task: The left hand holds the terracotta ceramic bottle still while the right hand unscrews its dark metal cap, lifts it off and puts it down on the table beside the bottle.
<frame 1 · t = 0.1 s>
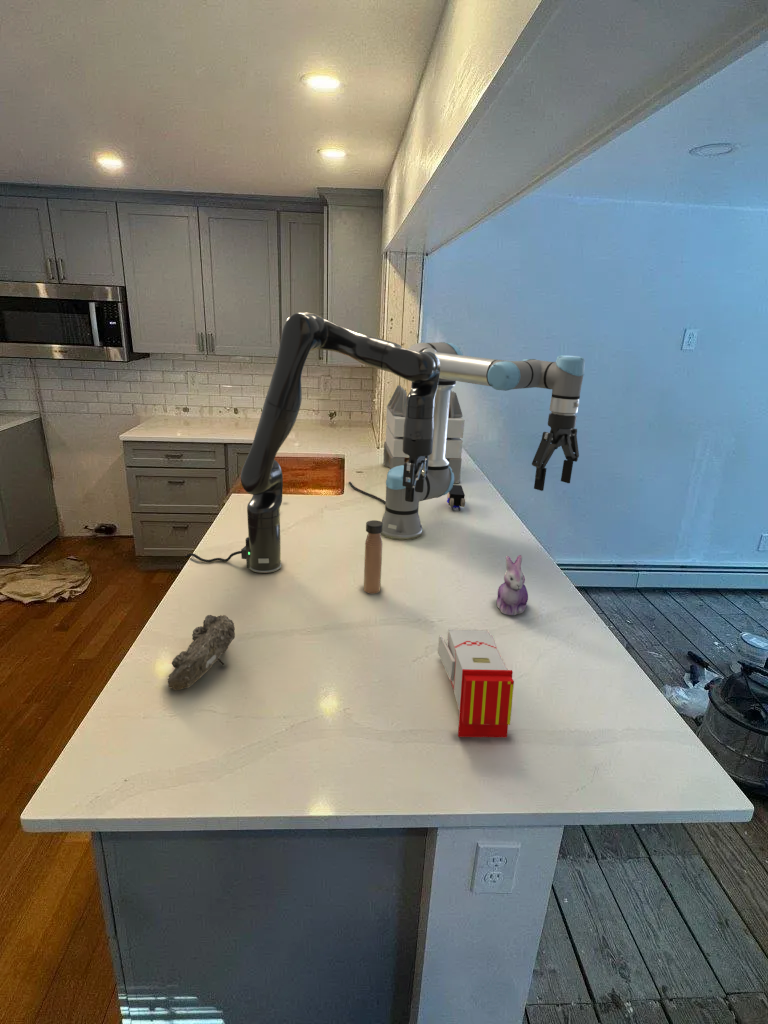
left hand: (414, 496, 147), 29 cm above the counter, tool pointing down, fingers open, 8 cm apart
right hand: (552, 485, 166), 28 cm above the counter, tool pointing down, fingers open, 13 cm apart
bottle: (371, 589, 160), on the counter
figurine character: (454, 506, 230), on the counter
fossil: (207, 663, 124), on the counter
grey slatted crate: (419, 473, 275), on the counter
cap: (374, 524, 153), point 20 cm above the counter, screwed on, not yet turned
figurine: (511, 608, 153), on the counter
toy: (469, 691, 119), on the counter
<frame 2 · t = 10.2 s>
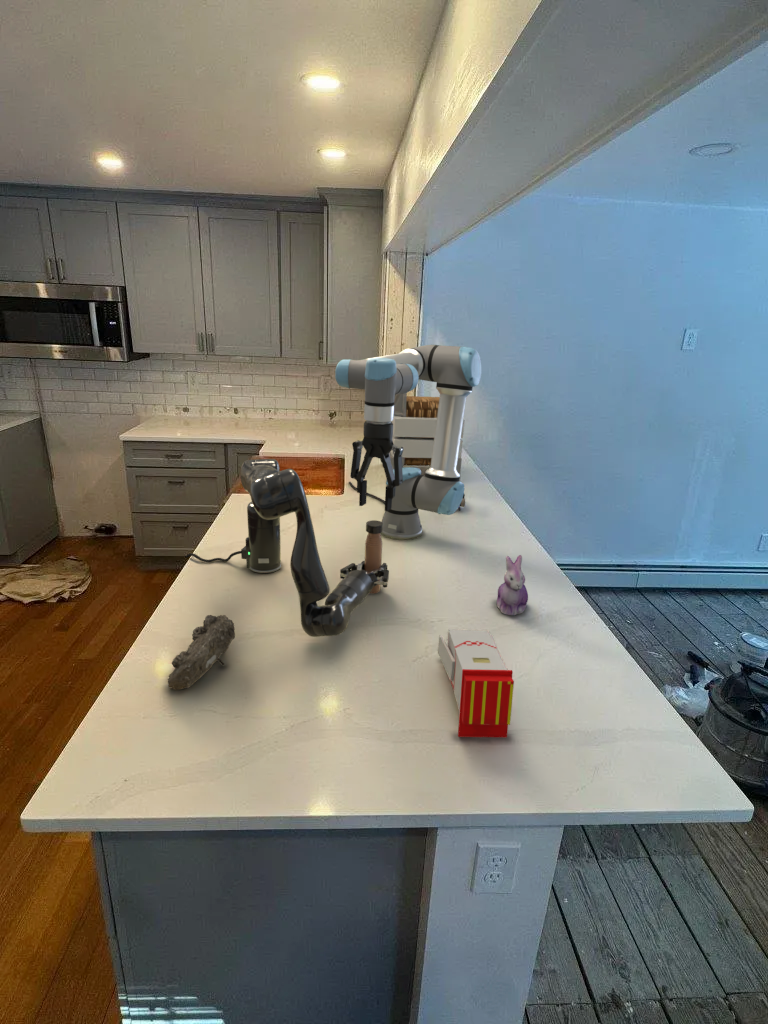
left hand: (376, 564, 160), 7 cm above the counter, tool horizontal, fingers closed on bottle, 4 cm apart
right hand: (375, 506, 151), 25 cm above the counter, tool pointing down, fingers open, 7 cm apart
bottle: (371, 589, 160), on the counter, touching left hand
everything else where it was.
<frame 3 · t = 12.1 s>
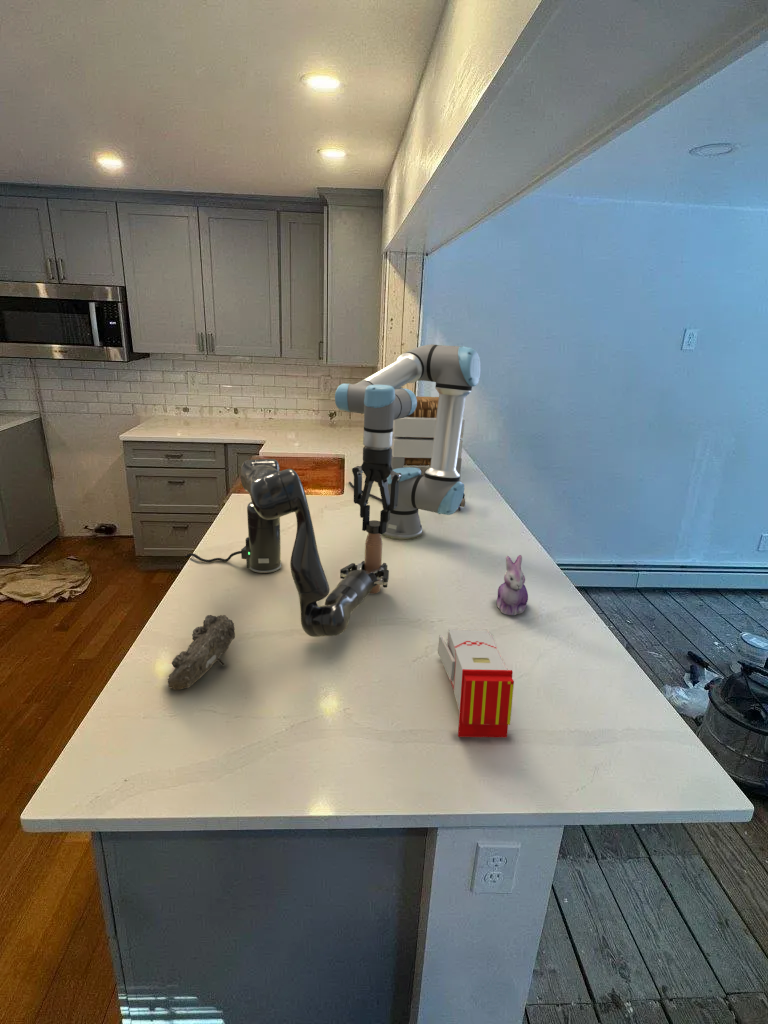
left hand: (376, 564, 160), 7 cm above the counter, tool horizontal, fingers closed on bottle, 4 cm apart
right hand: (374, 530, 154), 18 cm above the counter, tool pointing down, fingers closed on cap, 4 cm apart
bottle: (371, 589, 160), on the counter, touching left hand
cap: (374, 524, 153), point 20 cm above the counter, screwed on, not yet turned, touching right hand
everything else where it was.
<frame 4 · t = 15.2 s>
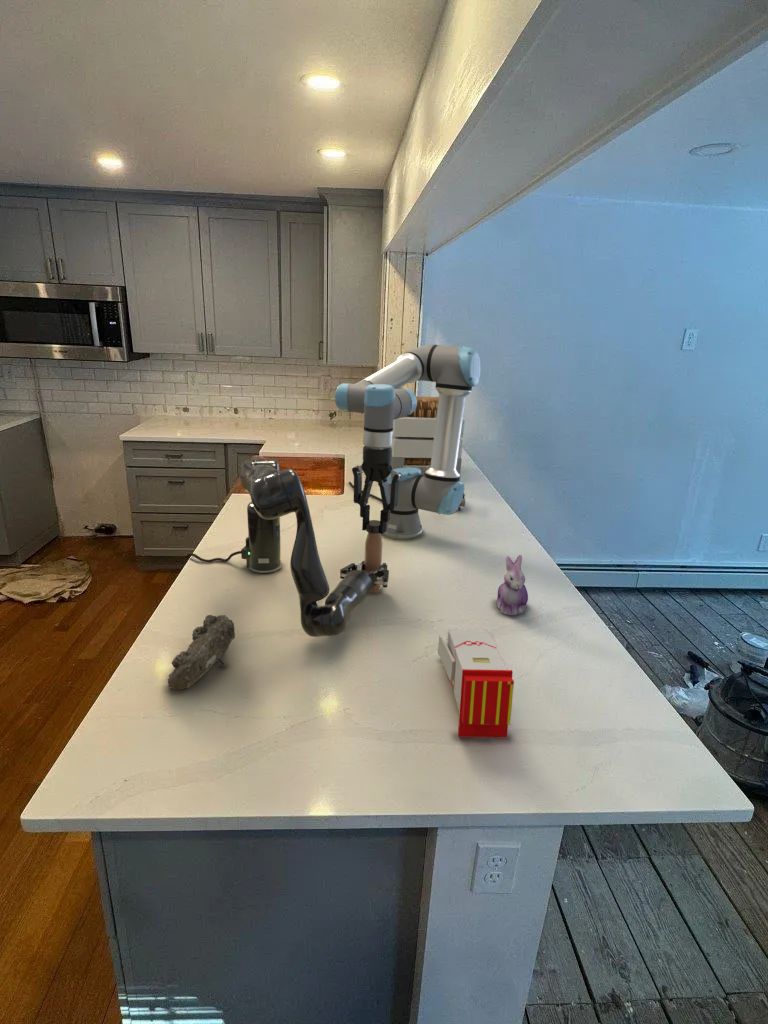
left hand: (376, 564, 160), 7 cm above the counter, tool horizontal, fingers closed on bottle, 4 cm apart
right hand: (374, 530, 154), 18 cm above the counter, tool pointing down, fingers closed on cap, 4 cm apart
bottle: (371, 589, 160), on the counter, touching left hand
cap: (374, 524, 153), point 20 cm above the counter, turned 109° so far, risen 0.1 cm, still on its thread, touching right hand
everything else where it was.
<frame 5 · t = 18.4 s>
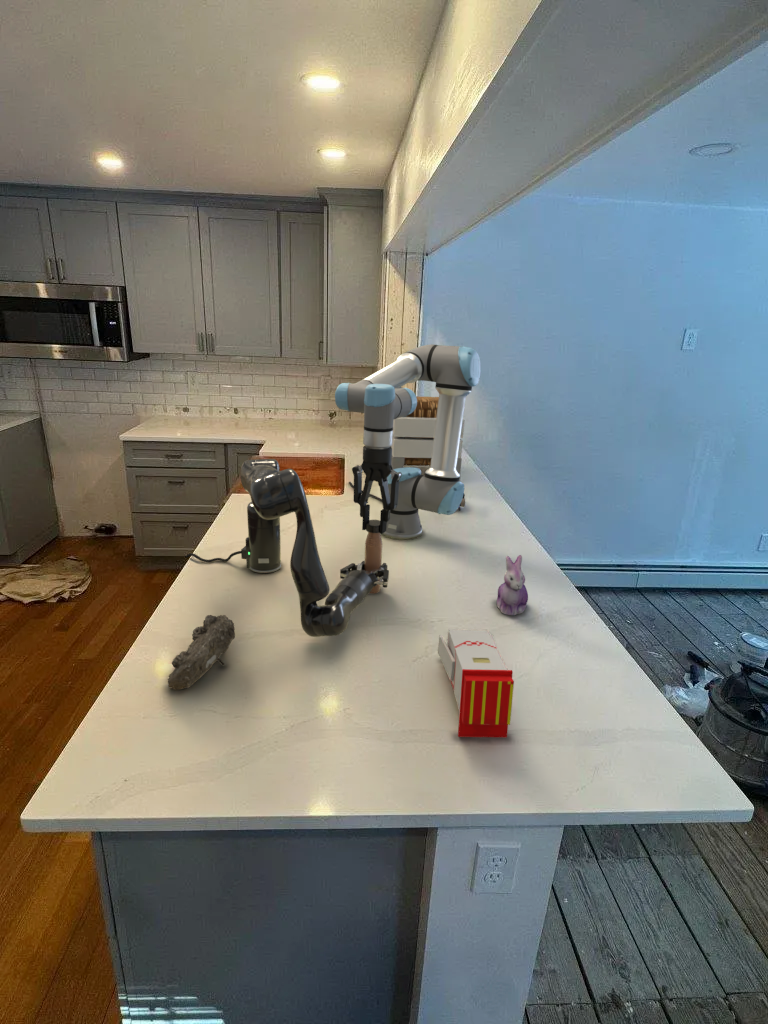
left hand: (376, 564, 160), 7 cm above the counter, tool horizontal, fingers closed on bottle, 4 cm apart
right hand: (374, 530, 154), 18 cm above the counter, tool pointing down, fingers closed on cap, 4 cm apart
bottle: (371, 589, 160), on the counter, touching left hand
cap: (374, 523, 153), point 20 cm above the counter, turned 218° so far, risen 0.2 cm, still on its thread, touching right hand
everything else where it was.
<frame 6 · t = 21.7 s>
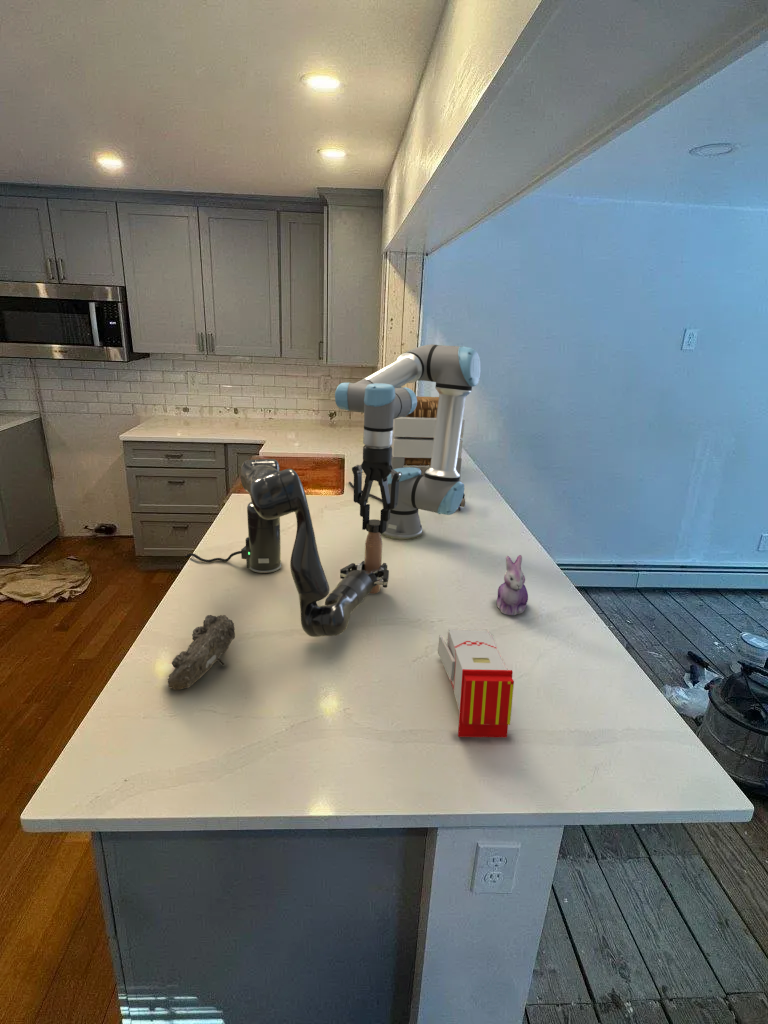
left hand: (376, 564, 160), 7 cm above the counter, tool horizontal, fingers closed on bottle, 4 cm apart
right hand: (374, 529, 154), 18 cm above the counter, tool pointing down, fingers closed on cap, 4 cm apart
bottle: (371, 589, 160), on the counter, touching left hand
cap: (374, 523, 153), point 20 cm above the counter, turned 327° so far, risen 0.3 cm, still on its thread, touching right hand
everything else where it was.
when the right hand's fingers open (1 cm above the counter, at t = 27.7 s): cap stays where it is, point 2 cm above the counter.
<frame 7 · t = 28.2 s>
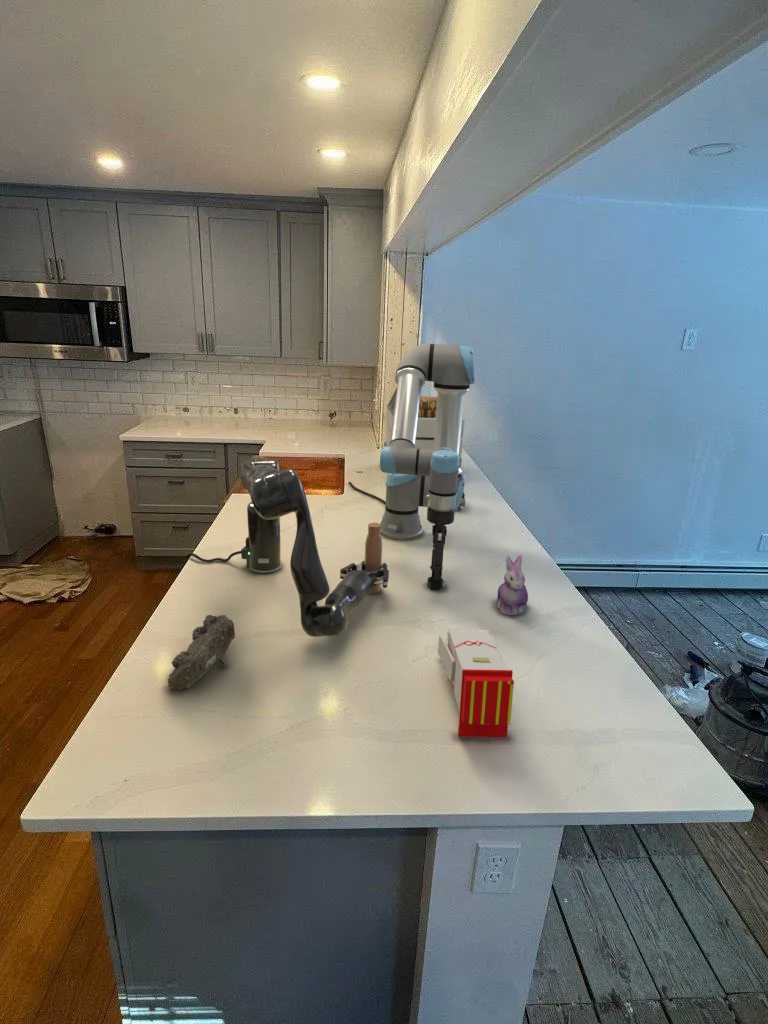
left hand: (376, 564, 160), 7 cm above the counter, tool horizontal, fingers closed on bottle, 4 cm apart
right hand: (435, 579, 162), 2 cm above the counter, tool pointing down, fingers open, 11 cm apart
bottle: (371, 589, 160), on the counter, touching left hand
cap: (435, 580, 162), point 2 cm above the counter, off its thread
everything else where it was.
when the left hand's fingers open (7 cm above the counter, at t = 29.0 s): bottle stays where it is, on the counter.
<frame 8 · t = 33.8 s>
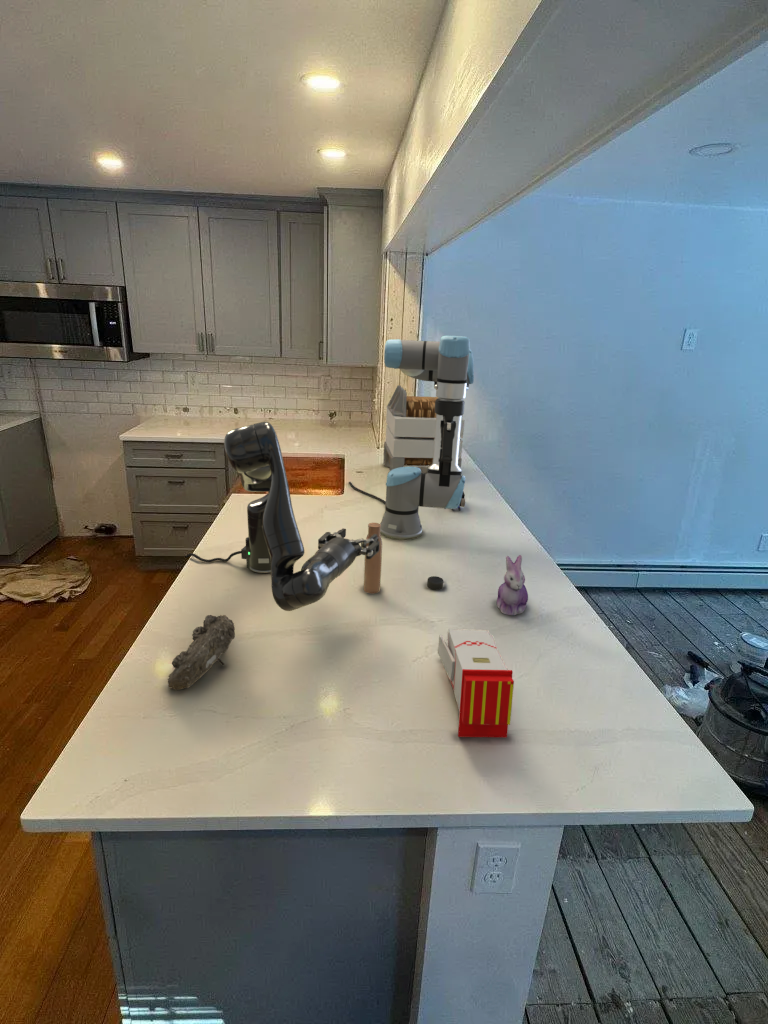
left hand: (359, 534, 144), 20 cm above the counter, tool horizontal, fingers open, 8 cm apart
right hand: (443, 478, 152), 32 cm above the counter, tool pointing down, fingers open, 13 cm apart
bottle: (371, 589, 160), on the counter
everything else where it was.
at the end: cap came off its thread; cap point 1.9 cm above the counter; the left hand is holding nothing; the right hand is holding nothing; bottle tilted 0°; bottle moved 0.0 cm from its start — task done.
